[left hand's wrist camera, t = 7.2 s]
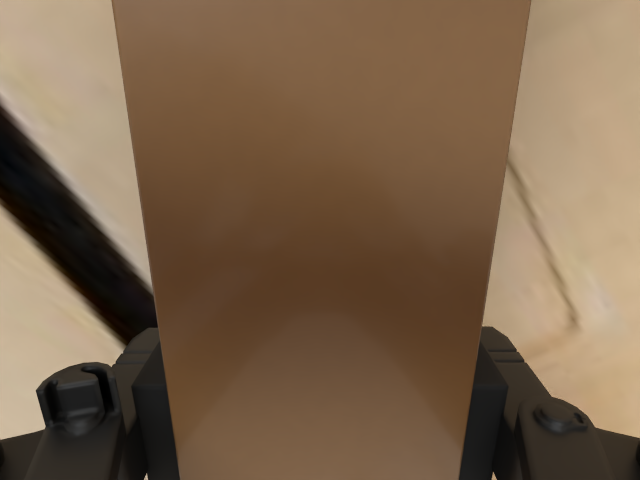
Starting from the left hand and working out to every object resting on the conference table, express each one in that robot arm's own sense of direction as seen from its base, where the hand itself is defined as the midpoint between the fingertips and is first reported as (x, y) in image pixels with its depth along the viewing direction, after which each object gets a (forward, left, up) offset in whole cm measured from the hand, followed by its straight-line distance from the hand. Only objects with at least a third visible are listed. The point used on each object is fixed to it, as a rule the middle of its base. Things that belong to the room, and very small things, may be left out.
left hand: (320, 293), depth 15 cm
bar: (-2, +22, -1) cm, 22 cm away
